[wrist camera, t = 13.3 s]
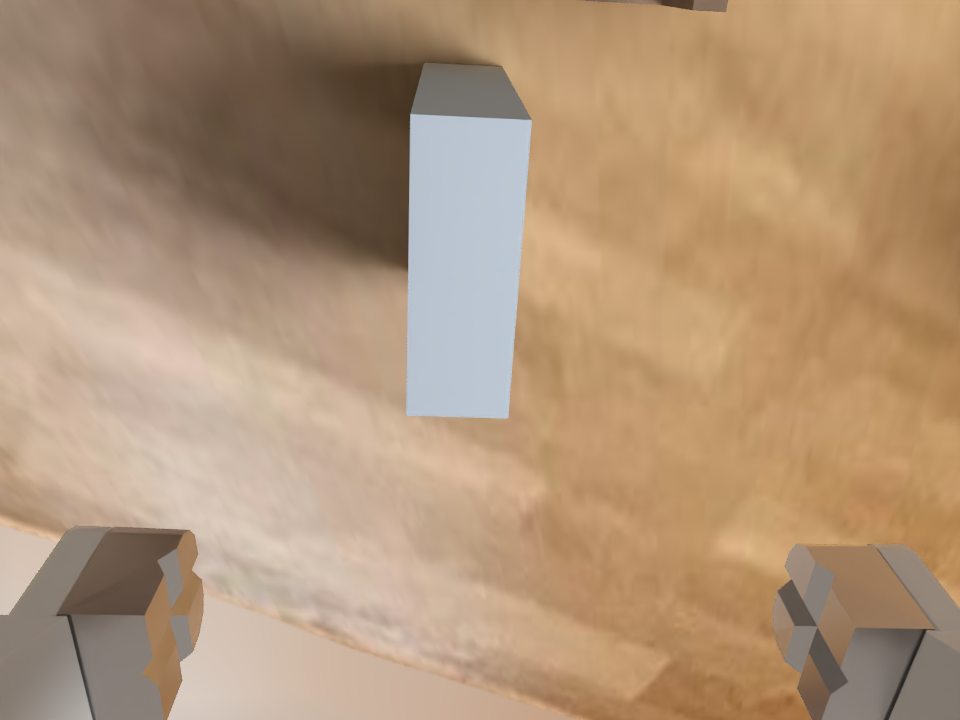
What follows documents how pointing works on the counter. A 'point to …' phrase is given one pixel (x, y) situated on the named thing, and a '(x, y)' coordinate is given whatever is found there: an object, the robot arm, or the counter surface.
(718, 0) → the wooden tray
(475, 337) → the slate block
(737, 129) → the counter surface
